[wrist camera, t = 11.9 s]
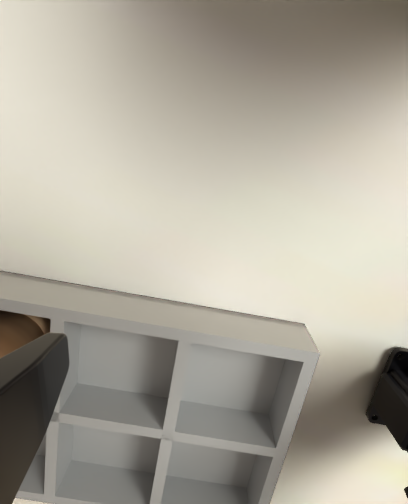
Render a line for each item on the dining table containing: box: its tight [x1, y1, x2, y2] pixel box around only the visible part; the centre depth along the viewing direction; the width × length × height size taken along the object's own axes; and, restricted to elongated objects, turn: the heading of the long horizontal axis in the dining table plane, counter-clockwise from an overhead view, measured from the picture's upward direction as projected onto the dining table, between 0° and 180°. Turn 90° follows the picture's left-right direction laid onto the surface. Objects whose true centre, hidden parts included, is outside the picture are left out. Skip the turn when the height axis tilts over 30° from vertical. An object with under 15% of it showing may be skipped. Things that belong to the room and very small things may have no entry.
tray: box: [0, 271, 320, 504], centre depth 23 cm, size 24×16×4 cm
